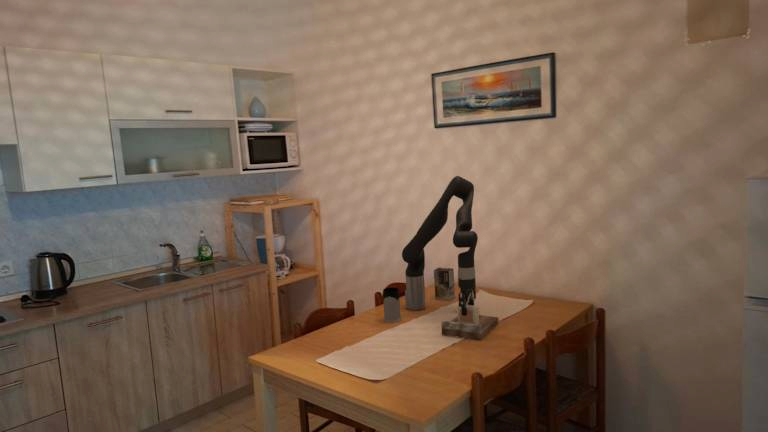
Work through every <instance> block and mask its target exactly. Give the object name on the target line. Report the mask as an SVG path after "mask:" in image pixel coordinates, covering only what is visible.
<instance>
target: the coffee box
mask: <svg viewBox="0 0 768 432" xmlns="http://www.w3.org/2000/svg"><path fill="white" fill-rule="evenodd" d="M454 273H455V272H454V268H453V267H451V268H450V267H448V268H447V267H436V268H435V269H434V270H433V279H434V280H433V281H434V295H435V298H434V299H435V300H443V301H452V300H454V299H455V298H456V294H455V293H456V292H455V291H456V290H455V275H454Z"/></svg>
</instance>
